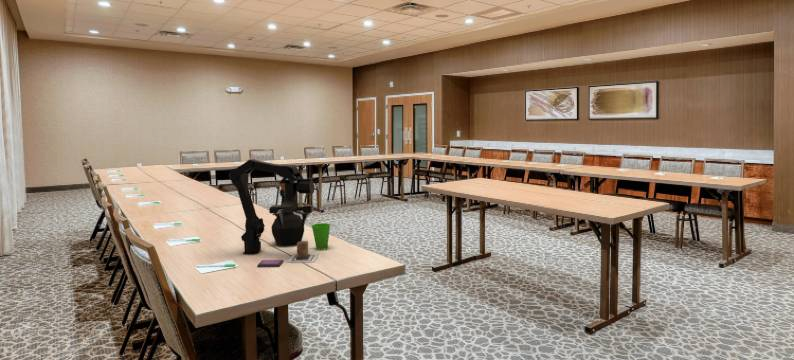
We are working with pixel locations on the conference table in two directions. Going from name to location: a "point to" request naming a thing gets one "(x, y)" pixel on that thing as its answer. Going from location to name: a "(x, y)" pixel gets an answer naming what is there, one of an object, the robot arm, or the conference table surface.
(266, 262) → the ink pad
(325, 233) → the cup
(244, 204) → the robot arm
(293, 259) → the frame
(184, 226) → the conference table surface
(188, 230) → the conference table surface
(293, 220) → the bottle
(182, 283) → the conference table surface
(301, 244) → the stamp
